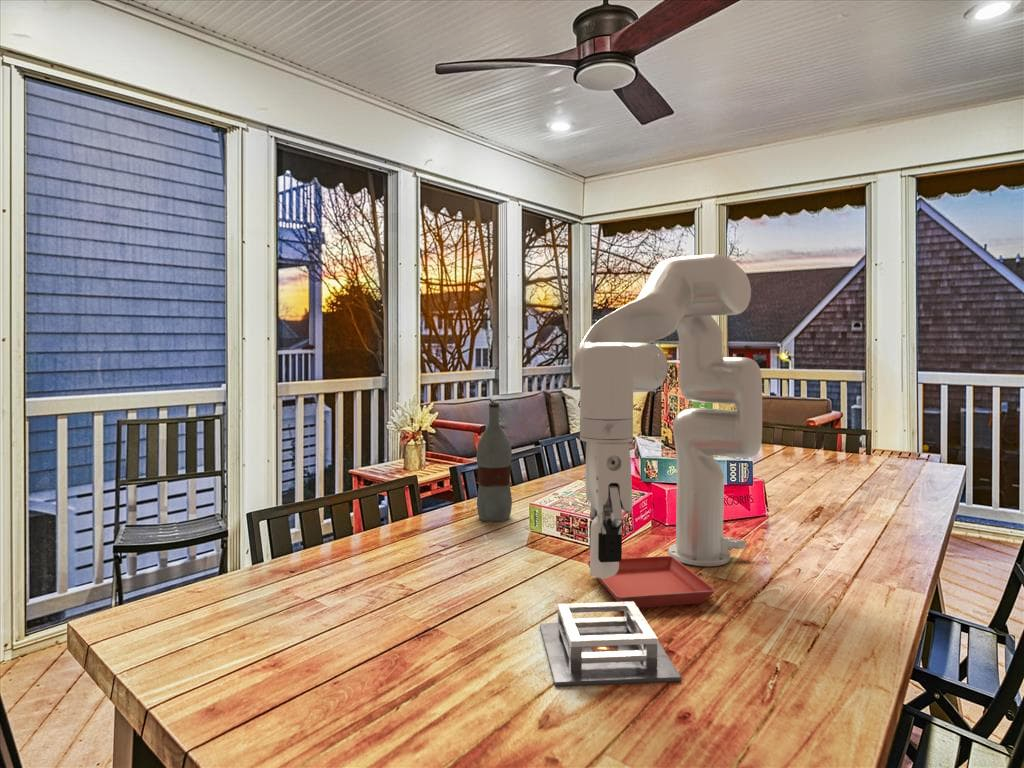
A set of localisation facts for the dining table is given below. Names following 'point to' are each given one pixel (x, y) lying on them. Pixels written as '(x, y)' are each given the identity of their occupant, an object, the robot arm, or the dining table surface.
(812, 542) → the dining table surface
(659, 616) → the dining table surface
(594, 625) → the collar stand
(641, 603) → the plant saucer
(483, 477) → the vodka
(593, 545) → the eye dropper bottle
